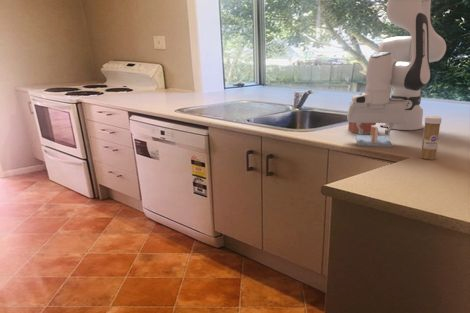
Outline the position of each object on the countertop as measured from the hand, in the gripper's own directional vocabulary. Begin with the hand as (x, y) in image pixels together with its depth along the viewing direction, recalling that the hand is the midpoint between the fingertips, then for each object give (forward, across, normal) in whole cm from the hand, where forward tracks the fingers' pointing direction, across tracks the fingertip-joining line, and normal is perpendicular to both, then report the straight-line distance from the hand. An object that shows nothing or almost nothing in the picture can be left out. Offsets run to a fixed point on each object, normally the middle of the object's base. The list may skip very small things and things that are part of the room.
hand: (373, 134), depth 141 cm
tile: (+2, 0, 0) cm, 2 cm away
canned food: (+3, +3, -20) cm, 20 cm away
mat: (+3, 0, 0) cm, 3 cm away
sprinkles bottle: (+3, -15, +20) cm, 25 cm away
